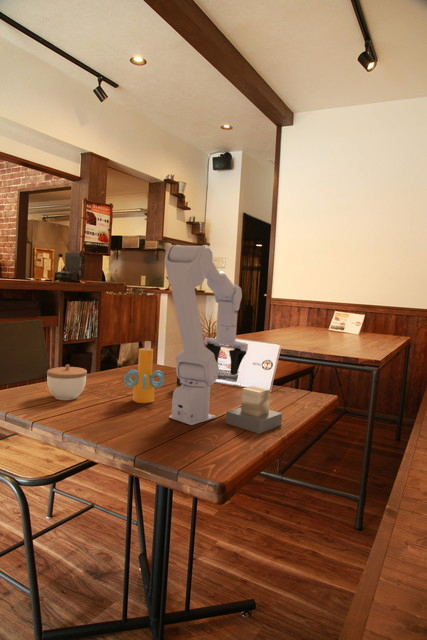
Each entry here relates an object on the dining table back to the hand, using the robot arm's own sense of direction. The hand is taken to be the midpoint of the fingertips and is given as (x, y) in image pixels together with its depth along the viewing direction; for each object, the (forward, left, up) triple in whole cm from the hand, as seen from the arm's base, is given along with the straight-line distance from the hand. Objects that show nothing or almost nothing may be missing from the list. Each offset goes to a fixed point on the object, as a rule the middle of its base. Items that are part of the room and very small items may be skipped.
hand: (223, 372), depth 121 cm
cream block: (-8, -17, -6) cm, 20 cm away
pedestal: (-8, -17, -9) cm, 21 cm away
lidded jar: (-31, +32, -10) cm, 46 cm away
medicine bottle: (+6, +18, -10) cm, 21 cm away
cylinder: (-16, +16, -10) cm, 25 cm away
